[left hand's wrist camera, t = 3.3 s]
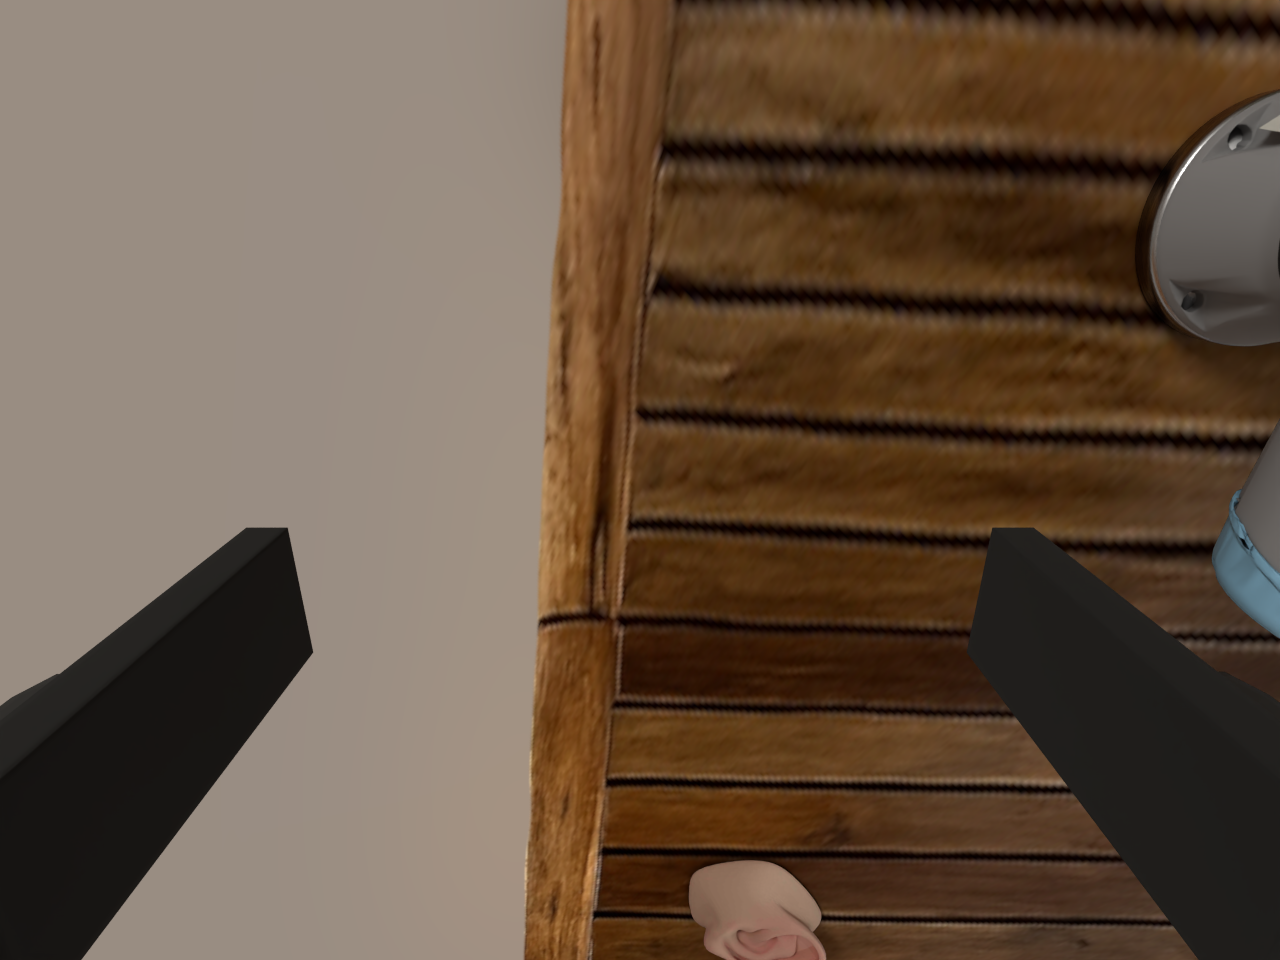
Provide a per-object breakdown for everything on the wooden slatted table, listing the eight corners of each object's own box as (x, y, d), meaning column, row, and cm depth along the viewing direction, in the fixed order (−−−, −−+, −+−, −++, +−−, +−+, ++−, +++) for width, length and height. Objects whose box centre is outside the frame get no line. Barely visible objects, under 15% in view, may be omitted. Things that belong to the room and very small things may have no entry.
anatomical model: (669, 919, 61) (787, 877, 59) (667, 879, 65) (778, 838, 63) (730, 1005, 65) (842, 968, 63) (725, 963, 69) (831, 927, 67)
